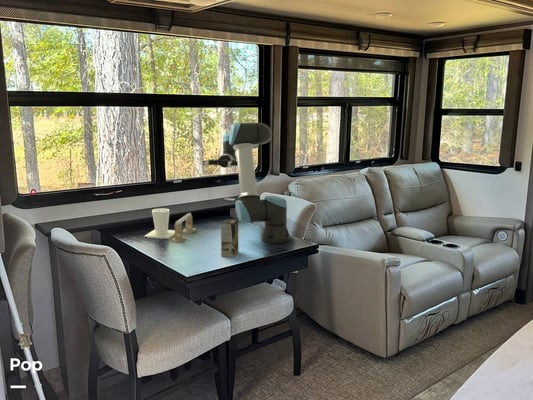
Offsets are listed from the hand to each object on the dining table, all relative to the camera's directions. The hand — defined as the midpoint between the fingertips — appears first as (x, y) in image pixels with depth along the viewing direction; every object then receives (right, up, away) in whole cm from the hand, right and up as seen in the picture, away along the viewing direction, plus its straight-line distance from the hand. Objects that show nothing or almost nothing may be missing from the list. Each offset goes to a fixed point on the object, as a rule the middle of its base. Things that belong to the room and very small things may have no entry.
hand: (216, 164), depth 255 cm
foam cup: (-30, -38, -2) cm, 49 cm away
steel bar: (-18, -31, -6) cm, 36 cm away
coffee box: (+10, -46, -35) cm, 59 cm away
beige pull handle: (-18, -39, -4) cm, 43 cm away
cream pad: (-30, -39, -2) cm, 49 cm away
